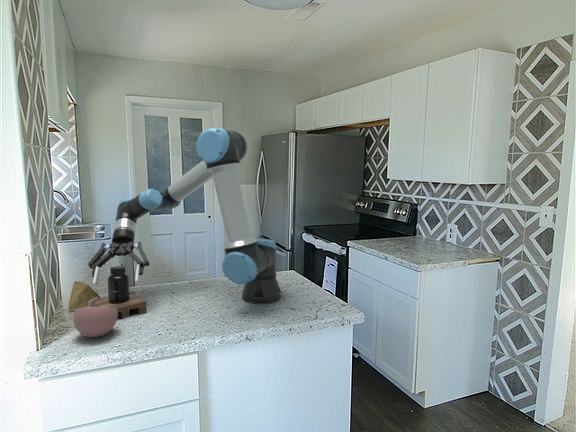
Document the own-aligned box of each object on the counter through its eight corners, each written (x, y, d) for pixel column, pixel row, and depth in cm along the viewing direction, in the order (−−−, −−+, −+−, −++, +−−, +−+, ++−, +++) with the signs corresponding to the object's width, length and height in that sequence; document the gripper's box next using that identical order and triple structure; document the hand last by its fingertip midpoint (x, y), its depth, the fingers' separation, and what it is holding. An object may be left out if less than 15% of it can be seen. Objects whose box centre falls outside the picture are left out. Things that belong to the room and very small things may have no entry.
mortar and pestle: (123, 325, 123) (121, 291, 121) (112, 342, 111) (110, 304, 110) (83, 328, 121) (80, 293, 119) (68, 345, 109) (65, 307, 108)
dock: (146, 312, 134) (146, 301, 133) (103, 323, 125) (103, 311, 124) (133, 301, 144) (132, 291, 144) (93, 310, 136) (92, 300, 135)
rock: (107, 294, 146) (79, 292, 145) (103, 281, 140) (74, 278, 139) (97, 319, 138) (68, 317, 137) (93, 307, 132) (62, 304, 131)
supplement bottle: (109, 305, 130) (107, 271, 128) (108, 299, 136) (106, 266, 134) (130, 302, 133) (129, 268, 131) (129, 296, 139) (127, 264, 137)
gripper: (160, 238, 149) (155, 286, 136) (91, 240, 145) (80, 291, 132) (157, 226, 143) (152, 276, 130) (85, 228, 139) (73, 280, 126)
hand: (116, 284), depth 131 cm, fingers open, 13 cm apart
